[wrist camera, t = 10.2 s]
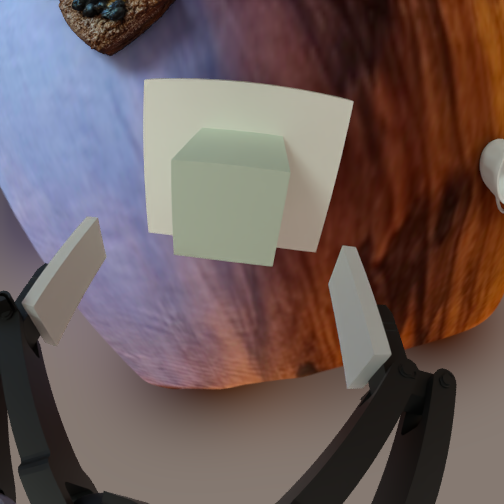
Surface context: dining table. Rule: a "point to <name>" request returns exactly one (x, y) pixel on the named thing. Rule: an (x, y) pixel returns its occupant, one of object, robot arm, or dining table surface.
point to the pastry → (111, 20)
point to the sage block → (229, 196)
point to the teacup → (494, 169)
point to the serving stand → (249, 120)
